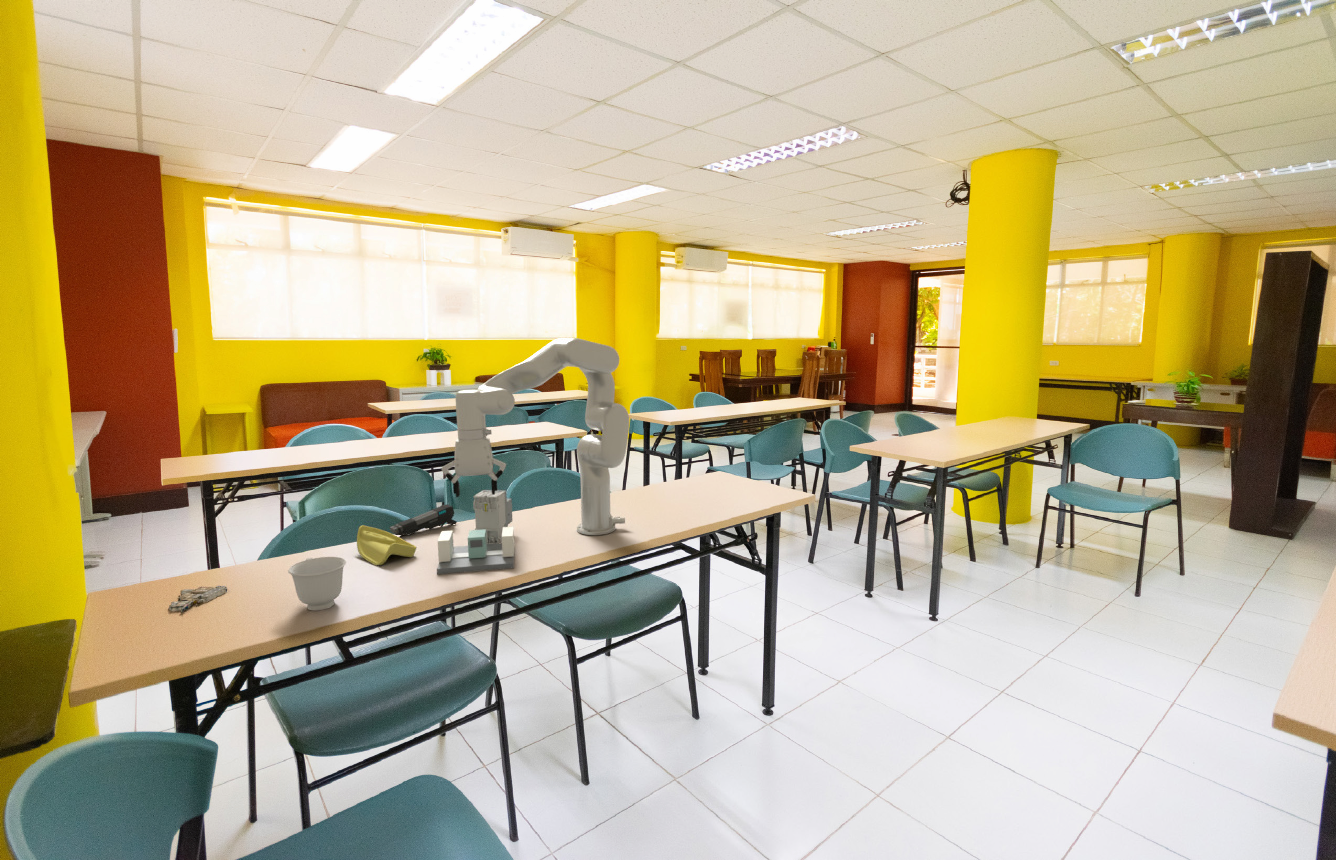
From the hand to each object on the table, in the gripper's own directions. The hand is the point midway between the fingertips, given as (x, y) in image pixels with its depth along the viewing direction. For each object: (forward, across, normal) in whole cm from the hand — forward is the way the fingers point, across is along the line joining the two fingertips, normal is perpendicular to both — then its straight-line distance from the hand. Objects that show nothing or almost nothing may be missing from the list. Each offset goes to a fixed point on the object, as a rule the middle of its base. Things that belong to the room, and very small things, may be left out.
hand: (475, 494), depth 178 cm
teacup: (+19, +36, +23) cm, 46 cm away
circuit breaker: (+20, -4, -20) cm, 28 cm away
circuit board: (+19, +64, +14) cm, 69 cm away
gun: (+20, +19, -32) cm, 43 cm away
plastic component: (+19, +27, -11) cm, 35 cm away
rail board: (+19, 0, 0) cm, 19 cm away
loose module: (+17, 0, 0) cm, 17 cm away
